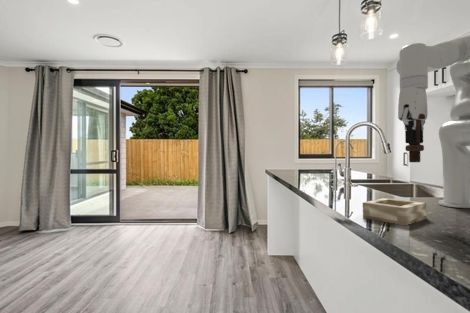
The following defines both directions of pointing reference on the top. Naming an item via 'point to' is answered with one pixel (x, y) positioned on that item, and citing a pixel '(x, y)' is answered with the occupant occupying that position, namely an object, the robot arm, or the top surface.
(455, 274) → the top surface
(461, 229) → the top surface
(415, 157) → the bolt
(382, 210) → the socket block
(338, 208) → the top surface
